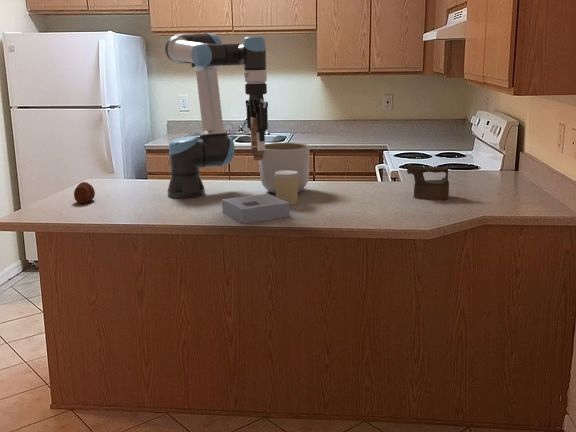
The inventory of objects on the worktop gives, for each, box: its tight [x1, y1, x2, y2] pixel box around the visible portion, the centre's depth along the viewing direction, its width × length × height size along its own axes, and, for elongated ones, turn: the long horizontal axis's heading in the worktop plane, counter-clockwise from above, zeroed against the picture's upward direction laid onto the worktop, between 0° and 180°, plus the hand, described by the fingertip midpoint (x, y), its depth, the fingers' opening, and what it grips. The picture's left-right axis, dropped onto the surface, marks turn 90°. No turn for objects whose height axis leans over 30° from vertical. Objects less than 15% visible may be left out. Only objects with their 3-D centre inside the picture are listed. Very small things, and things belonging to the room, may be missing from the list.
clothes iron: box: [406, 163, 450, 201], centre depth 246 cm, size 8×16×13 cm, turn 87°
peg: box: [250, 117, 264, 161], centre depth 226 cm, size 5×5×15 cm
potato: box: [73, 181, 96, 205], centre depth 253 cm, size 8×12×8 cm, turn 0°
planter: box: [258, 142, 310, 195], centre depth 262 cm, size 21×21×19 cm
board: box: [221, 193, 291, 225], centre depth 227 cm, size 18×18×5 cm
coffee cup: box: [274, 170, 299, 206], centre depth 243 cm, size 9×9×12 cm
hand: (258, 149), depth 227 cm, fingers closed on peg, 4 cm apart
